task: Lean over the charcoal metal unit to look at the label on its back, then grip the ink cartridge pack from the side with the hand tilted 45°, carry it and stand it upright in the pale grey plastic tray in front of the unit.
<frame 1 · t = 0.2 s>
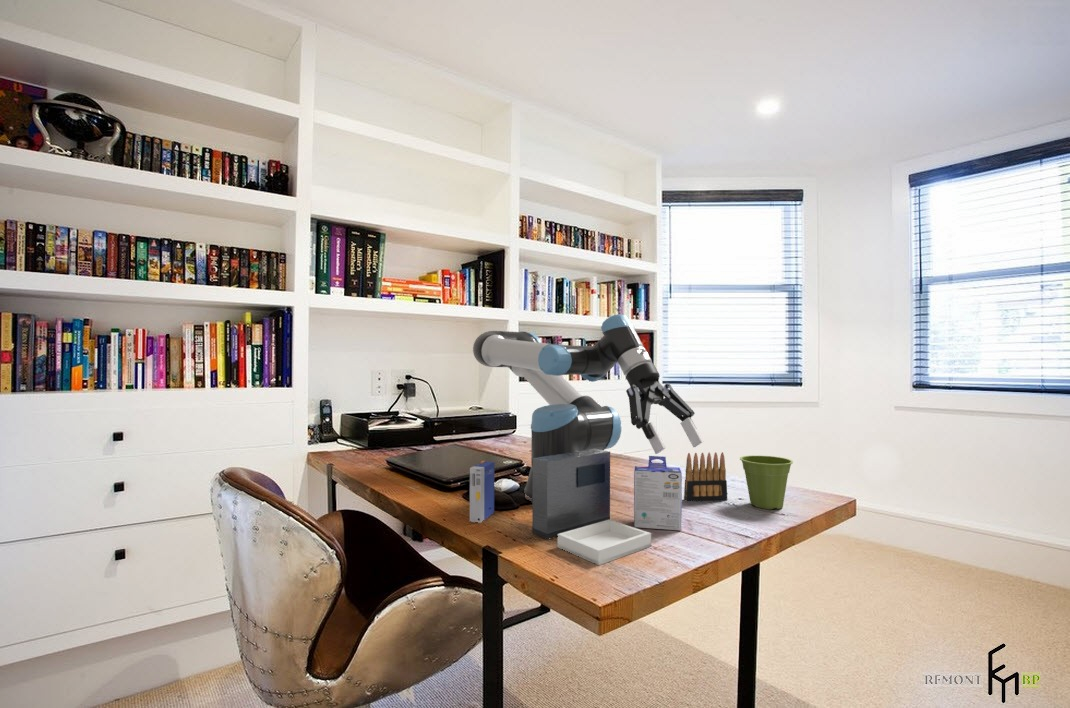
hand: (680, 447, 115), 15 cm above the table, tool tilted 35°, fingers open, 13 cm apart
ink cartridge box: (657, 526, 108), on the table
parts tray: (604, 546, 96), on the table
ammunition clip: (705, 500, 129), on the table
plant pot: (765, 506, 124), on the table
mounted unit: (572, 527, 107), on the table
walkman: (482, 518, 114), on the table
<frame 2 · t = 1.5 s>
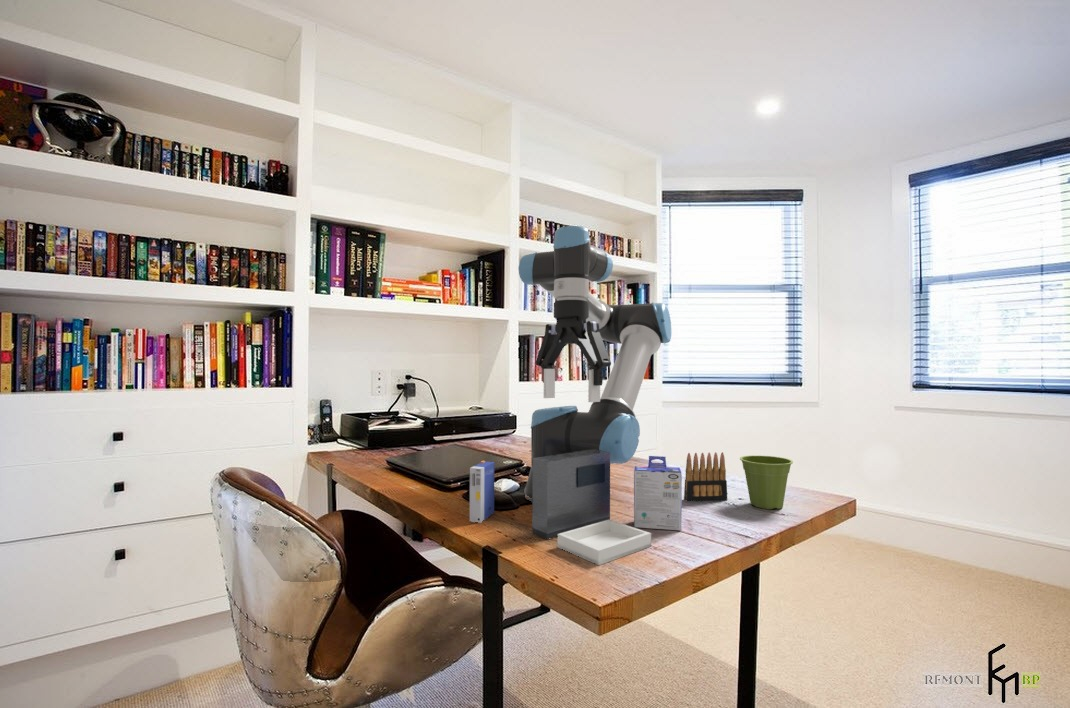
hand: (570, 400, 109), 27 cm above the table, tool pointing down, fingers open, 13 cm apart
nothing on the table moved.
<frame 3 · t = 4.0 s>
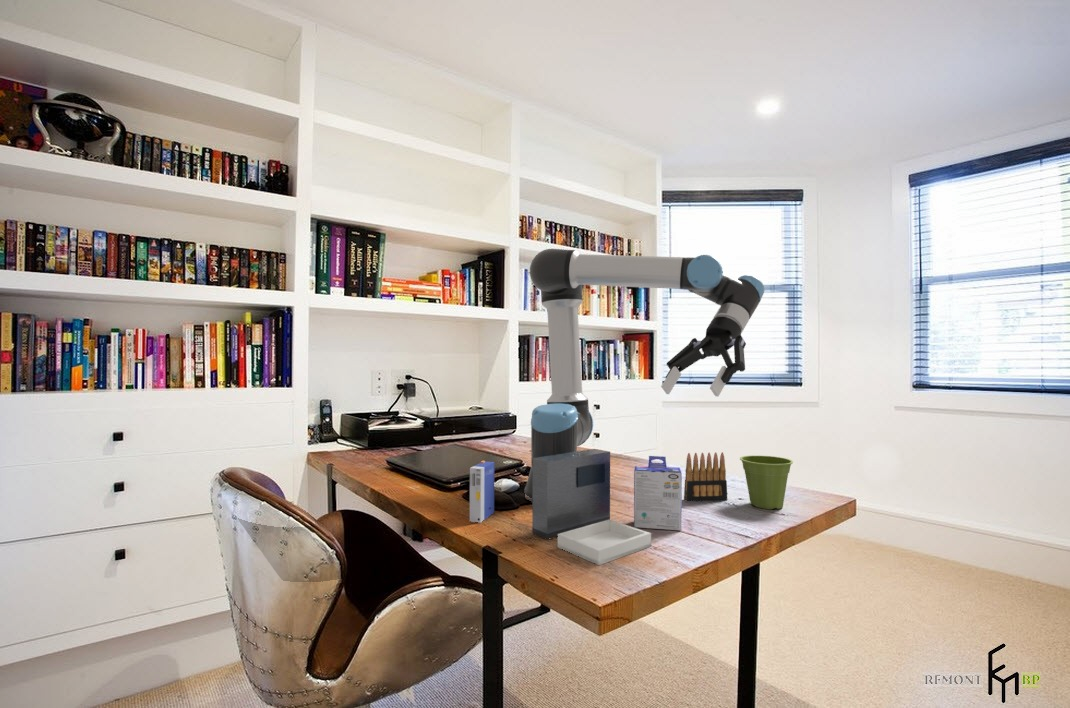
hand: (688, 391, 115), 28 cm above the table, tool tilted 45°, fingers open, 13 cm apart
nothing on the table moved.
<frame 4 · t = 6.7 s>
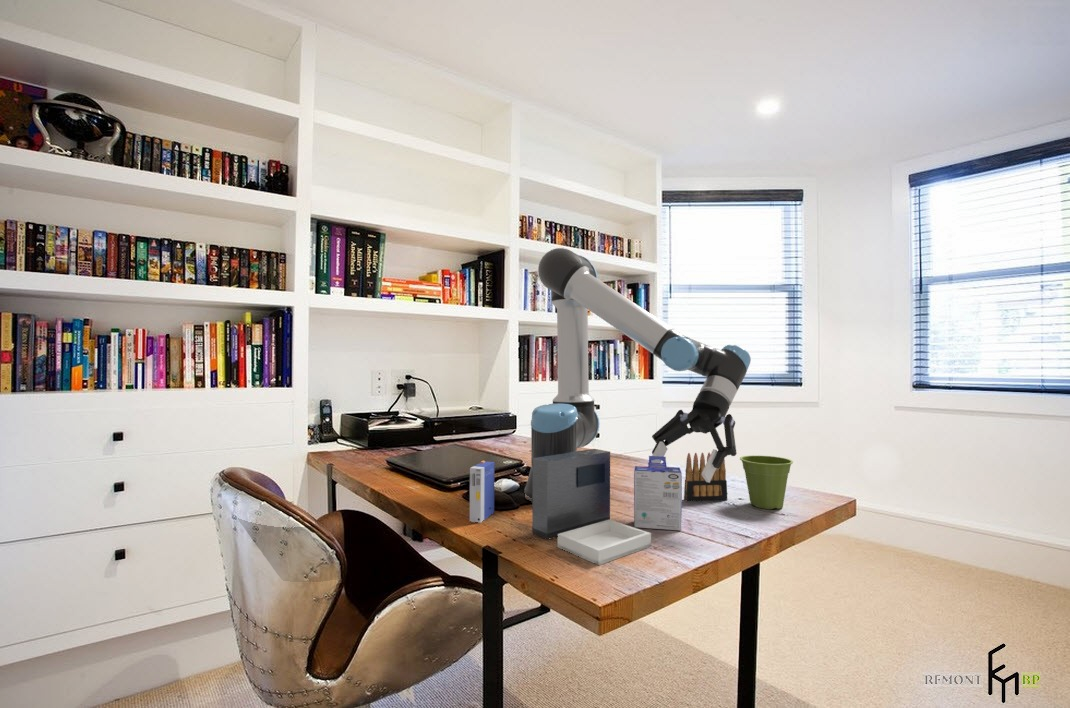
hand: (677, 473, 110), 11 cm above the table, tool tilted 45°, fingers open, 13 cm apart
nothing on the table moved.
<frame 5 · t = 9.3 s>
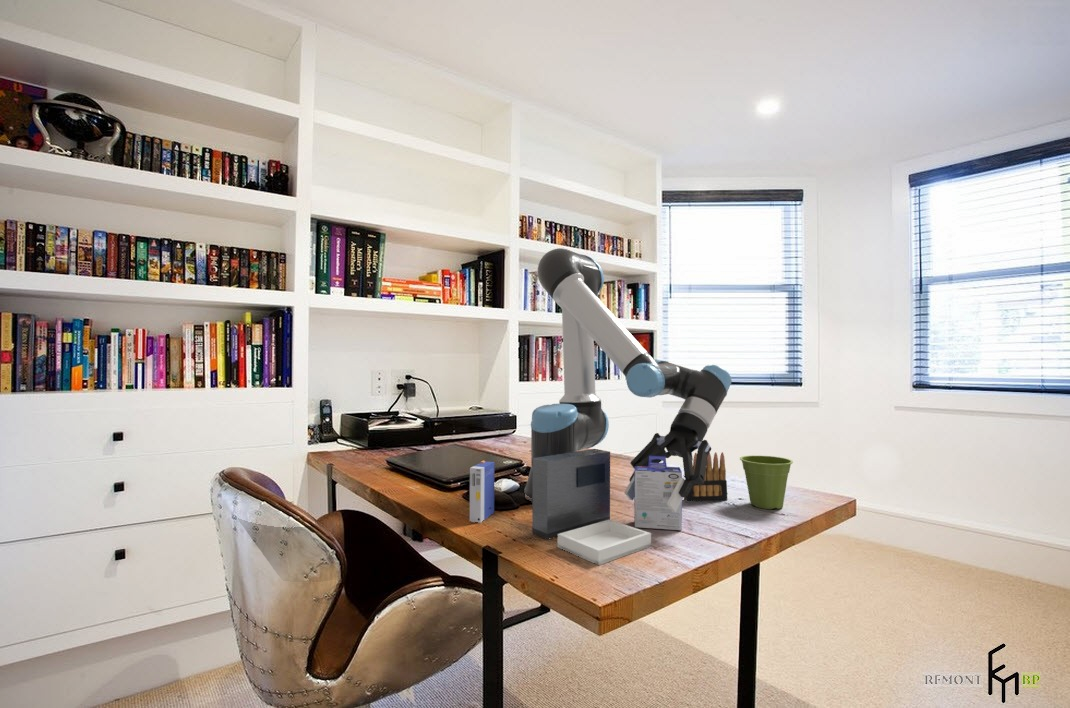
hand: (648, 502, 107), 5 cm above the table, tool tilted 45°, fingers closed on ink cartridge box, 10 cm apart
ink cartridge box: (657, 526, 108), on the table, touching gripper
everything else where it was.
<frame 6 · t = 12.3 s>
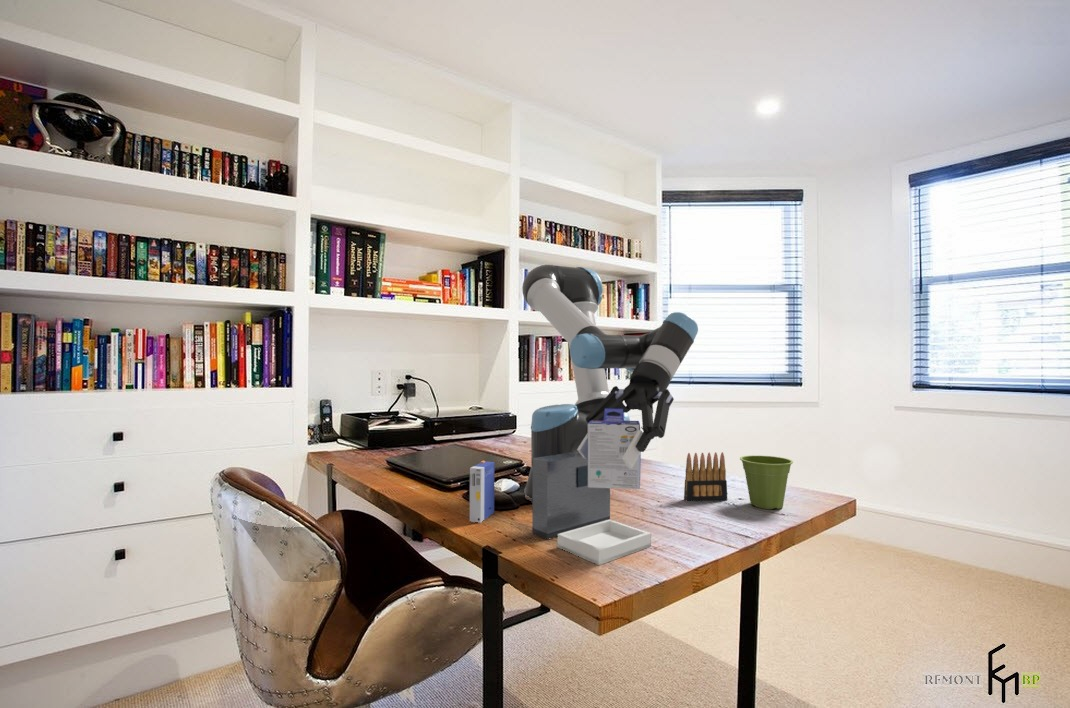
hand: (603, 458, 95), 17 cm above the table, tool tilted 45°, fingers closed on ink cartridge box, 10 cm apart
ink cartridge box: (614, 486, 96), point 11 cm above the table, touching gripper
everything else where it was.
when the fingers open (8 cm above the table, at t = 15.7 s): ink cartridge box stays where it is, resting on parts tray.
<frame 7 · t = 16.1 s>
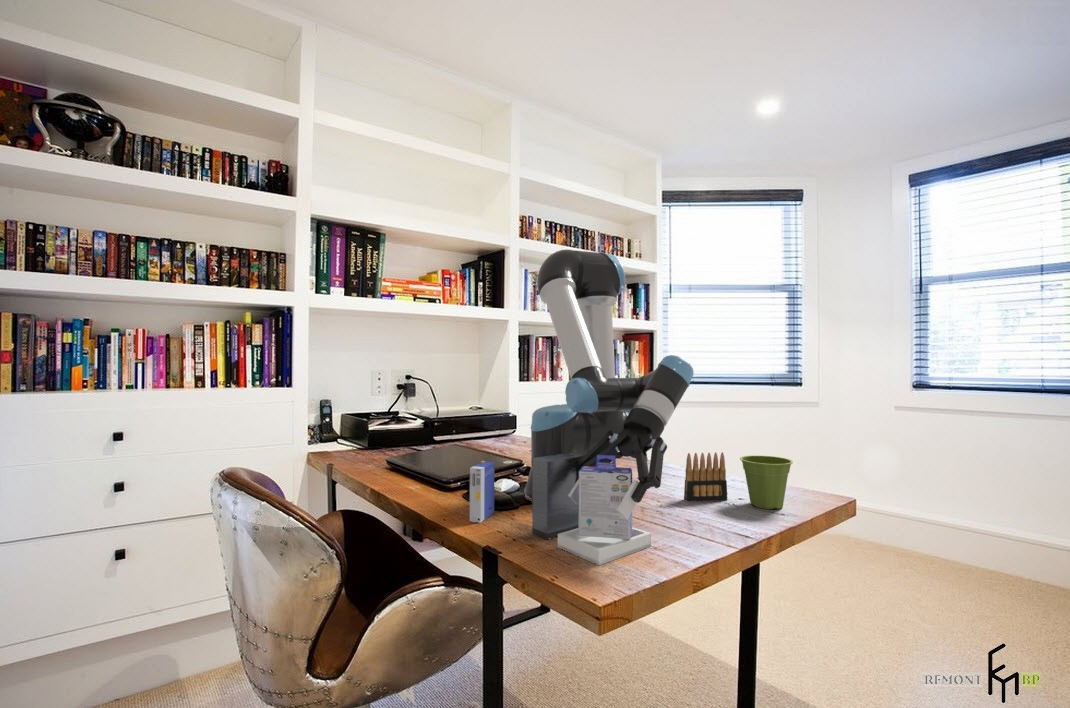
hand: (596, 507, 94), 8 cm above the table, tool tilted 45°, fingers open, 12 cm apart
ink cartridge box: (605, 534, 96), point 2 cm above the table, touching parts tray
everything else where it was.
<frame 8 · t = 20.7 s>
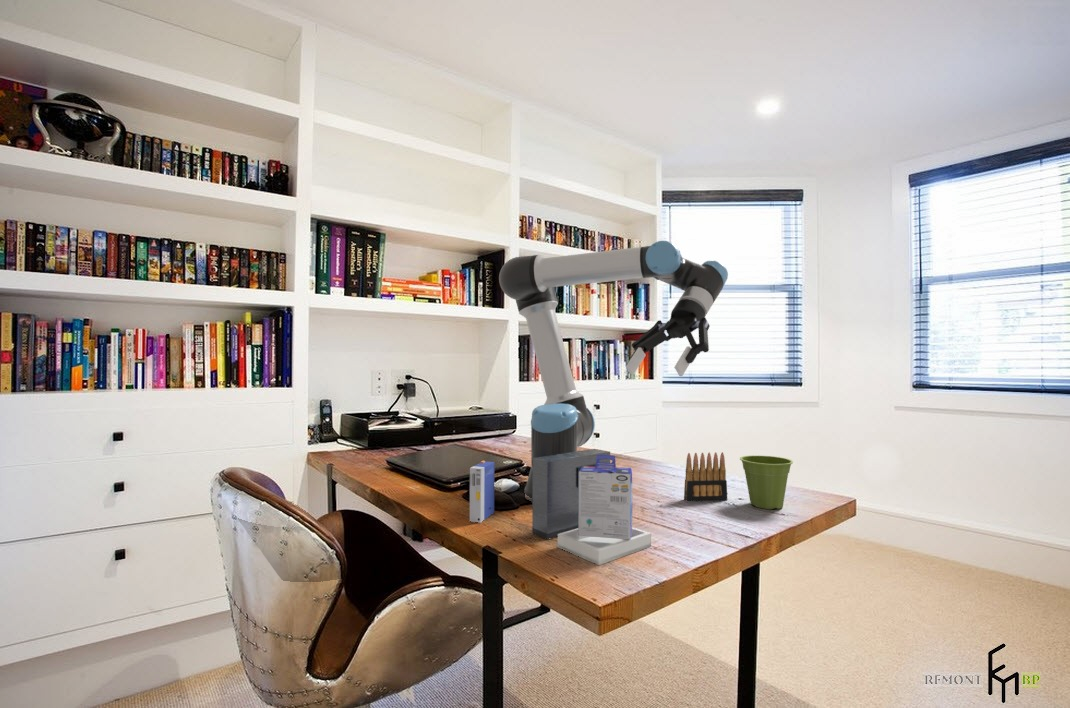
hand: (652, 371, 116), 33 cm above the table, tool tilted 45°, fingers open, 13 cm apart
nothing on the table moved.
at the end: ink cartridge box 0.2 cm off-centre on the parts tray, point 2.3 cm above the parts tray's base; ink cartridge box tilted 0°; the gripper is holding nothing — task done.
